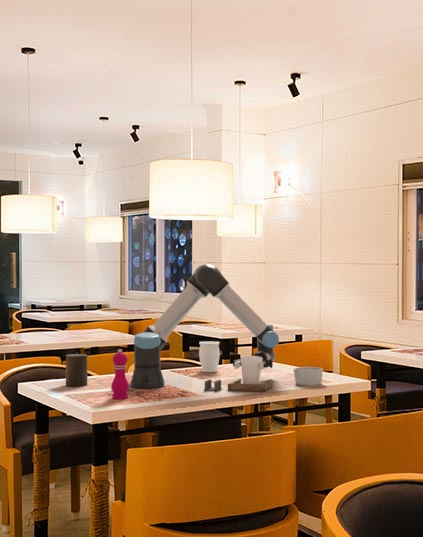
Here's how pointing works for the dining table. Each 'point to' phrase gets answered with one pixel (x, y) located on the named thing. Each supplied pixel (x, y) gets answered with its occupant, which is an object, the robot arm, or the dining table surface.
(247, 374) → the foam cup
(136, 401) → the dining table surface
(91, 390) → the dining table surface
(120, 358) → the pepper mill
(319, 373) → the ramekin
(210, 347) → the jar
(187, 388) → the dining table surface
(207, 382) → the clip
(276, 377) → the dining table surface
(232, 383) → the end holder
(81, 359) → the pillar candle
